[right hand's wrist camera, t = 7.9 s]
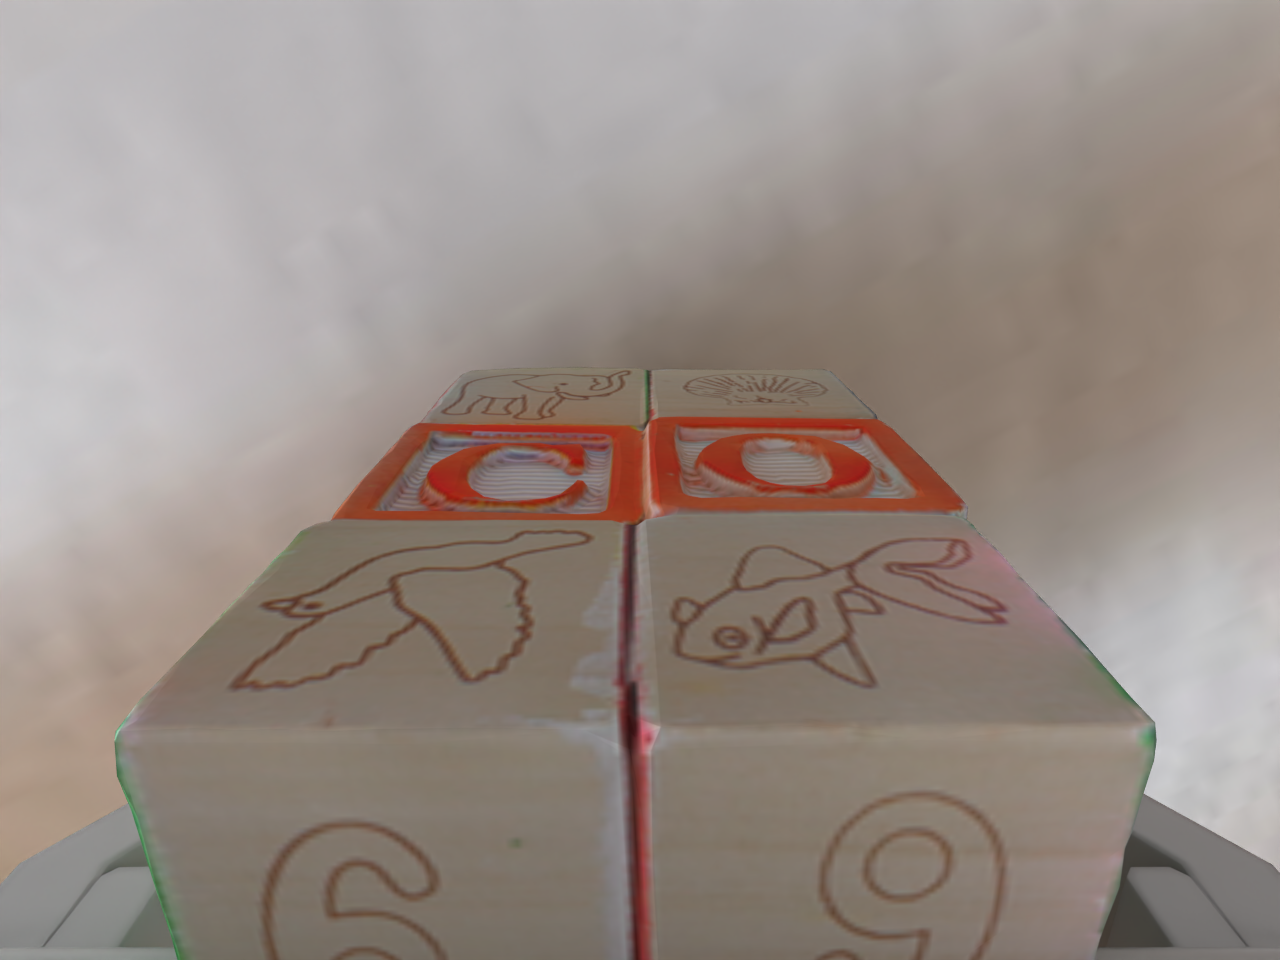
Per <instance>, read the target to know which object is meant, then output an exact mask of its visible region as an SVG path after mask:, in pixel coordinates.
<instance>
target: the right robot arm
mask: <svg viewBox="0 0 1280 960" xmlns="http://www.w3.org/2000/svg"><path fill="white" fill-rule="evenodd" d="M0 960H177V957H176V953H175V949H174V945H173V942H172V938H171V935H170V931H169V928H168V925H167V922H166V919H165V916H164V913H163V910H162V907H161V904H160V901H159V897H158V894H157V891H156V888H155V885H154V882H153V879H152V876H151V872H150V869H149V866H148V863H147V860H146V856H145V853H144V850H143V847H142V843H141V840H140V837H139V834H138V831H137V827H136V824H135V821H134V818H133V814H132V811H131V808H130V806H129V804H126V805H124V806H122V807H121V808H119V809H117V810H115V811H113V812H112V813H110V814H108V815H106V816H104V817H103V818H101V819H99V820H97V821H95V822H93V823H92V824H90V825H88V826H86V827H84V828H83V829H81V830H79V831H77V832H75V833H74V834H72V835H70V836H68V837H66V838H65V839H63V840H61V841H59V842H57V843H56V844H54V845H52V846H50V847H48V848H47V849H45V850H43V851H41V852H39V853H38V854H36V855H34V856H32V857H30V858H29V859H27V860H25V861H23V862H21V863H20V864H19V865H18V866H17V867H16V868H15V869H14V870H13V871H12V872H11V874H10V875H9V876H8V877H7V878H6V879H5V880H4V881H3V882H2V883H1V884H0ZM1095 960H1280V873H1279V872H1278V870H1277V869H1276V868H1275V867H1274V866H1273V865H1272V864H1270V863H1268V862H1266V861H1265V860H1263V859H1261V858H1259V857H1257V856H1255V855H1254V854H1252V853H1250V852H1248V851H1246V850H1245V849H1243V848H1241V847H1239V846H1237V845H1236V844H1234V843H1232V842H1230V841H1228V840H1226V839H1225V838H1223V837H1221V836H1219V835H1217V834H1216V833H1214V832H1212V831H1210V830H1208V829H1207V828H1205V827H1203V826H1201V825H1199V824H1197V823H1196V822H1194V821H1192V820H1190V819H1188V818H1187V817H1185V816H1183V815H1181V814H1179V813H1177V812H1176V811H1174V810H1172V809H1170V808H1168V807H1167V806H1165V805H1163V804H1161V803H1159V802H1158V801H1156V800H1154V799H1152V798H1150V797H1148V796H1147V795H1145V794H1143V796H1142V800H1141V803H1140V807H1139V810H1138V814H1137V817H1136V820H1135V824H1134V827H1133V831H1132V833H1131V835H1130V838H1129V840H1128V842H1127V845H1126V847H1125V851H1124V858H1123V866H1122V873H1121V880H1120V887H1119V890H1118V892H1117V895H1116V898H1115V900H1114V903H1113V905H1112V908H1111V911H1110V913H1109V916H1108V918H1107V921H1106V924H1105V926H1104V929H1103V932H1102V935H1101V938H1100V941H1099V945H1098V949H1097V954H1096V958H1095Z"/></svg>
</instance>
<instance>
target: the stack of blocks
mask: <svg viewBox="0 0 1280 960" xmlns="http://www.w3.org/2000/svg"><path fill="white" fill-rule="evenodd" d="M967 512H968V506H967V505H966V504H965V503H964V501H963V500H962V499H961V498H960V496H959V495H958V494H957V493H956V492H955V491H954V490H953V489H952V488H951V487H950V486H949V485H948V484H947V483H946V482H945V481H944V480H943V479H942V478H941V477H940V476H939V475H938V474H937V473H936V472H935V471H934V470H933V469H932V468H931V467H930V466H929V465H928V464H927V463H926V462H925V460H924V459H923V458H922V457H921V456H920V455H919V454H918V453H916V452H915V451H914V450H913V449H912V448H911V447H910V446H909V445H908V444H907V443H906V442H905V441H904V440H903V439H902V438H901V437H900V436H899V435H898V434H897V433H896V432H895V431H894V430H893V429H892V428H891V427H890V426H889V425H887V424H885V423H883V422H881V421H879V420H878V419H877V416H876V414H875V413H874V412H873V411H871V410H870V409H869V408H868V407H867V406H866V405H865V404H864V403H863V402H862V401H860V400H859V399H858V397H857V396H856V395H855V394H854V393H853V392H852V391H851V390H849V389H848V388H847V387H846V386H845V385H844V384H843V383H842V382H841V381H840V380H839V379H838V378H837V377H836V376H835V375H834V374H833V373H832V372H830V371H827V370H824V369H816V370H677V369H662V370H652V371H648V370H643V369H633V368H513V369H494V370H477V371H470V372H467V373H465V374H463V375H461V376H460V377H459V378H458V379H457V380H456V381H455V382H454V383H453V384H452V385H451V386H450V387H449V388H448V389H447V390H446V392H445V393H444V394H443V395H442V396H441V397H440V398H439V400H438V401H437V402H436V404H435V405H434V406H433V408H432V409H431V410H430V411H429V412H428V414H427V415H426V417H425V418H424V419H423V420H422V421H421V422H420V423H418V424H416V425H414V426H411V427H410V428H409V429H408V430H406V431H405V432H404V433H403V435H402V436H401V438H400V439H399V440H398V441H397V442H396V443H395V444H394V445H393V446H392V448H391V449H390V450H389V451H388V452H387V453H386V454H385V455H384V457H383V458H382V459H381V460H380V462H379V463H378V464H377V465H376V466H375V467H374V468H373V469H372V470H371V471H370V472H369V473H368V474H367V475H366V476H365V477H364V478H363V480H362V481H361V482H360V483H359V484H358V485H357V486H356V487H355V489H354V490H353V491H352V492H351V494H350V495H349V496H348V497H347V499H346V500H345V501H344V502H343V504H342V505H341V506H340V507H339V509H338V510H337V511H336V512H335V514H334V516H333V518H332V520H331V521H329V522H323V523H317V524H315V525H313V526H311V527H309V528H307V529H305V530H303V531H301V532H300V533H299V534H298V535H297V537H296V538H295V539H294V540H293V541H292V542H291V544H290V545H289V546H288V547H287V548H286V549H285V550H284V551H283V552H282V553H281V554H280V555H279V556H277V557H276V558H275V559H274V560H273V561H272V563H271V564H270V565H269V566H268V567H267V569H266V570H265V571H264V572H263V573H262V574H261V575H260V576H259V577H258V578H257V579H256V580H255V581H254V582H253V583H252V584H250V586H249V587H248V588H247V589H246V590H245V591H244V592H243V593H242V594H241V595H240V596H239V597H238V598H237V599H236V600H235V601H234V602H233V603H232V604H231V605H230V606H229V607H228V608H227V609H226V610H225V612H224V613H223V614H222V615H221V616H220V617H219V618H218V619H217V620H216V622H215V623H214V624H213V625H212V626H211V627H210V628H209V629H208V631H207V632H206V633H205V634H204V635H203V636H202V637H201V638H200V639H199V640H198V641H197V642H196V643H195V644H194V645H193V646H192V647H191V648H190V649H189V650H188V651H187V652H186V653H185V654H184V655H183V657H182V658H181V659H180V660H179V661H178V662H177V663H176V664H175V665H174V666H173V667H172V668H171V669H170V670H169V671H168V672H167V673H166V674H165V675H164V676H163V677H162V678H161V679H160V680H159V681H158V682H157V683H156V684H155V685H154V686H153V687H152V688H151V689H150V690H149V691H148V692H147V693H146V694H145V695H144V696H143V697H142V698H141V699H140V701H139V702H138V703H137V704H136V706H135V707H134V708H133V710H132V711H131V712H130V714H129V715H128V716H127V717H126V719H125V720H124V721H123V723H122V724H121V725H120V727H119V728H118V729H117V731H116V734H115V754H116V767H117V777H118V779H119V782H120V784H121V787H122V789H123V791H124V794H125V796H126V799H127V801H128V804H129V806H130V808H131V811H132V814H133V818H134V821H135V824H136V827H137V831H138V834H139V837H140V840H141V843H142V847H143V850H144V853H145V856H146V860H147V863H148V866H149V869H150V872H151V876H152V879H153V882H154V885H155V888H156V891H157V894H158V897H159V901H160V904H161V907H162V910H163V913H164V916H165V919H166V922H167V925H168V928H169V931H170V935H171V938H172V942H173V945H174V949H175V953H176V957H177V960H1095V958H1096V954H1097V949H1098V945H1099V941H1100V938H1101V935H1102V932H1103V929H1104V926H1105V924H1106V921H1107V918H1108V916H1109V913H1110V911H1111V908H1112V905H1113V903H1114V900H1115V898H1116V895H1117V892H1118V890H1119V887H1120V880H1121V873H1122V866H1123V858H1124V851H1125V847H1126V845H1127V842H1128V840H1129V838H1130V835H1131V833H1132V831H1133V827H1134V824H1135V820H1136V817H1137V814H1138V810H1139V807H1140V803H1141V800H1142V796H1143V793H1144V790H1145V787H1146V784H1147V780H1148V777H1149V774H1150V771H1151V768H1152V765H1153V762H1154V756H1155V748H1156V730H1155V722H1154V721H1153V720H1152V719H1151V718H1150V717H1149V716H1148V715H1147V714H1146V713H1145V712H1144V711H1143V709H1142V708H1141V707H1140V706H1139V705H1138V704H1137V703H1136V702H1135V701H1134V700H1133V699H1132V698H1131V697H1130V696H1129V695H1128V693H1127V692H1126V691H1125V690H1124V689H1123V688H1122V687H1121V685H1120V684H1119V683H1118V682H1117V681H1116V680H1115V679H1114V677H1113V676H1112V675H1111V674H1110V673H1109V672H1108V671H1107V669H1106V668H1105V667H1104V666H1103V665H1102V664H1101V663H1100V661H1099V660H1098V659H1097V658H1096V657H1095V656H1094V654H1093V653H1092V652H1091V651H1090V650H1089V649H1088V648H1087V646H1086V645H1085V644H1084V643H1083V642H1082V641H1081V640H1080V639H1079V638H1078V636H1077V635H1076V634H1075V633H1074V632H1073V631H1072V630H1071V629H1070V628H1069V627H1068V626H1067V625H1066V624H1065V623H1064V622H1063V621H1062V620H1061V619H1060V617H1059V616H1058V615H1057V614H1056V613H1055V612H1054V611H1053V610H1052V609H1051V608H1050V607H1049V606H1048V605H1047V604H1046V603H1045V602H1044V601H1043V600H1042V599H1041V598H1040V597H1039V596H1038V595H1037V594H1036V593H1035V591H1034V590H1033V589H1032V588H1031V587H1030V586H1029V585H1028V584H1027V583H1026V582H1025V581H1024V580H1023V579H1022V578H1021V577H1020V576H1019V575H1018V573H1017V572H1016V571H1015V570H1014V569H1013V567H1012V566H1011V565H1010V564H1009V563H1008V561H1007V560H1006V559H1005V558H1004V557H1003V555H1002V554H1001V553H1000V552H999V551H998V550H997V549H996V548H995V547H994V546H993V545H992V544H991V543H990V542H989V541H988V540H987V539H985V538H984V537H983V536H982V535H981V534H980V533H978V532H977V530H976V529H975V527H974V526H973V525H972V524H971V523H970V522H968V521H967V520H966V519H967Z"/></svg>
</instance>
